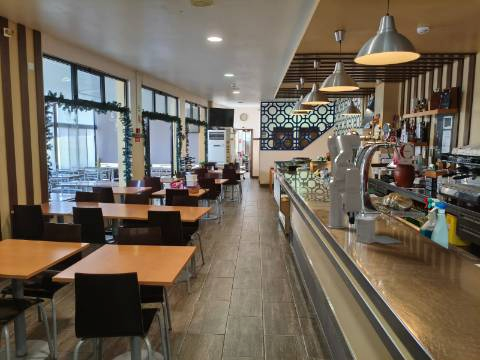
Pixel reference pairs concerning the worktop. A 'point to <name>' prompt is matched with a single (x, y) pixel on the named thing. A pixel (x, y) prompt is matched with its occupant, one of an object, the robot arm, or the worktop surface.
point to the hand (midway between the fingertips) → (351, 223)
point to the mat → (386, 240)
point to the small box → (365, 230)
